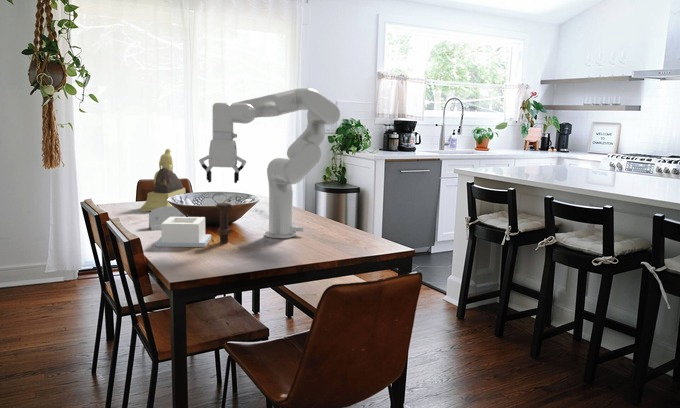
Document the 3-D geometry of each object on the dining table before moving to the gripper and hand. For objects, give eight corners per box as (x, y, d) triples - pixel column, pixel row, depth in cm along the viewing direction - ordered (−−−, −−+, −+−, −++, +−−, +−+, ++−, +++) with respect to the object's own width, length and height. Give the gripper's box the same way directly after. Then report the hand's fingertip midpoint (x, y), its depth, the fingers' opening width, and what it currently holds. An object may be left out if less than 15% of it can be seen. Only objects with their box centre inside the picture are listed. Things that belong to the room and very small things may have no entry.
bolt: (223, 244, 204) (223, 205, 201) (213, 242, 206) (213, 204, 204) (234, 242, 209) (234, 203, 206) (224, 240, 211) (224, 202, 209)
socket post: (211, 238, 214) (211, 217, 213) (205, 246, 200) (204, 224, 199) (164, 237, 213) (164, 216, 211) (155, 246, 199) (154, 223, 198)
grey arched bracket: (150, 230, 225) (148, 206, 226) (148, 232, 229) (146, 208, 230) (191, 227, 233) (188, 204, 234) (188, 228, 237) (185, 206, 238)
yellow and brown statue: (164, 202, 292) (163, 146, 287) (187, 203, 291) (186, 147, 286) (140, 211, 265) (138, 150, 260) (165, 212, 263) (164, 151, 258)
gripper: (247, 137, 205) (247, 181, 208) (201, 135, 204) (201, 180, 207) (245, 137, 198) (244, 184, 200) (197, 136, 196) (197, 183, 199)
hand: (222, 182), depth 203 cm, fingers open, 9 cm apart
